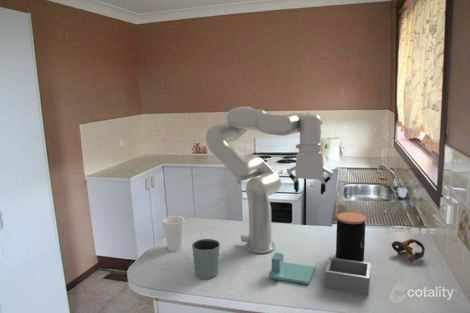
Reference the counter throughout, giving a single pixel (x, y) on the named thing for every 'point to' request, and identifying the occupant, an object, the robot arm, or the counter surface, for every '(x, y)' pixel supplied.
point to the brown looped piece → (409, 248)
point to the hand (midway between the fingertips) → (309, 192)
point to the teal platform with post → (290, 271)
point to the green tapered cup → (206, 258)
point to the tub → (348, 276)
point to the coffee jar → (350, 236)
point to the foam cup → (174, 232)
